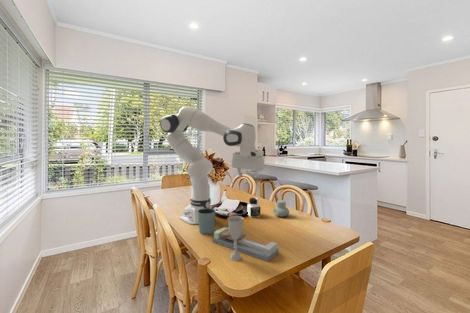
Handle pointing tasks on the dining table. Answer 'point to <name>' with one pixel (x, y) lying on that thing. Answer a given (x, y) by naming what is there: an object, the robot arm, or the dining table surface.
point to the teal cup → (206, 220)
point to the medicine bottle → (253, 208)
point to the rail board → (248, 246)
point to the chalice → (235, 233)
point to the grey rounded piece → (281, 209)
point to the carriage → (227, 234)
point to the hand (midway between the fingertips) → (247, 176)
